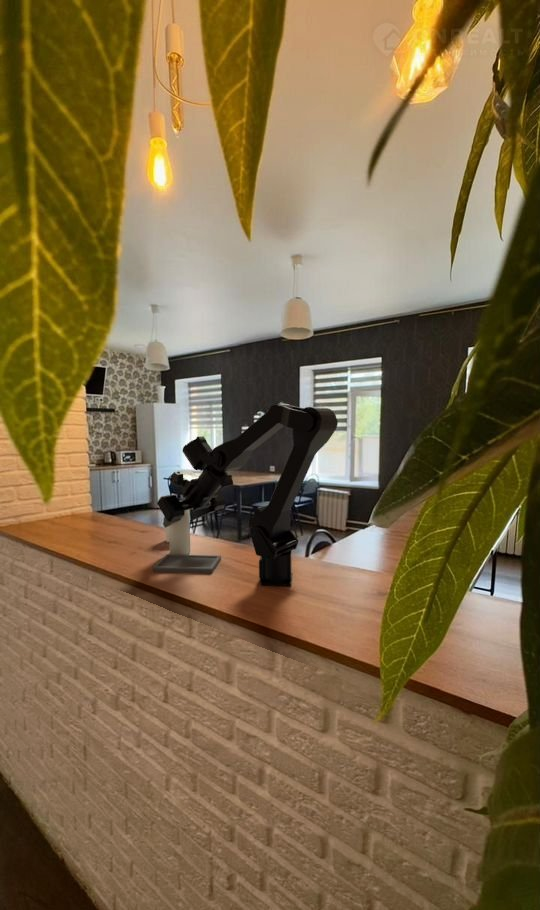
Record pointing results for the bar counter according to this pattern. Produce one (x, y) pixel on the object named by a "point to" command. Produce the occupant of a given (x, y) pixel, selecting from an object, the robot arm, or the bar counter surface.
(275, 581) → the robot arm
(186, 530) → the tumbler
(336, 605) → the bar counter surface
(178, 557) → the bar mat
